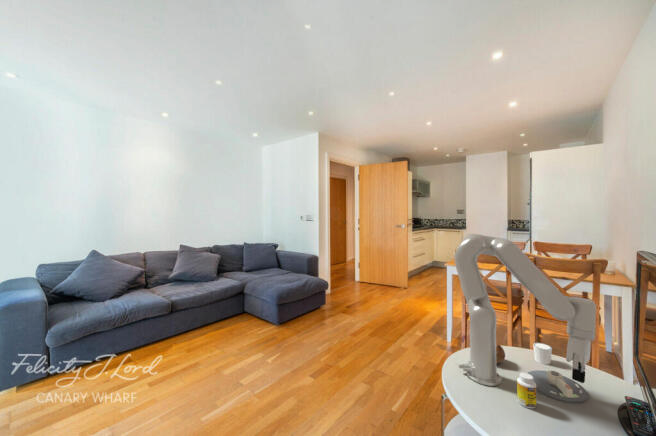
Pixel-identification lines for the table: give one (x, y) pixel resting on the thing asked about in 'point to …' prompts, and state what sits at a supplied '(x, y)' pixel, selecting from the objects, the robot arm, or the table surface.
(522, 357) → the table surface
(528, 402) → the supplement bottle
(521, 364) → the table surface
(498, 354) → the onion
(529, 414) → the table surface
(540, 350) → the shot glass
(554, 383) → the lever
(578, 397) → the dial
